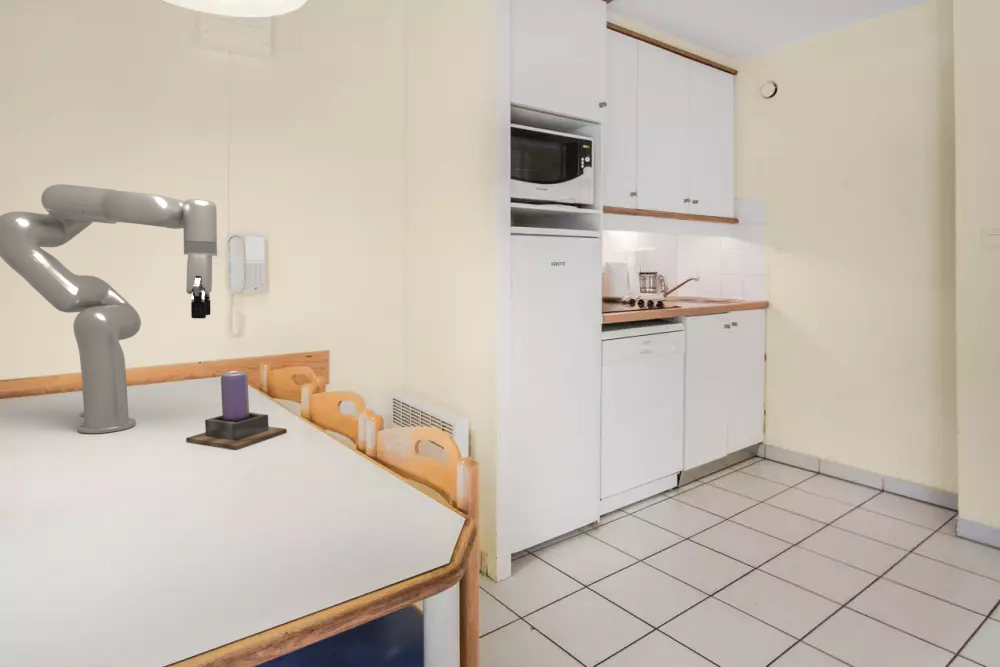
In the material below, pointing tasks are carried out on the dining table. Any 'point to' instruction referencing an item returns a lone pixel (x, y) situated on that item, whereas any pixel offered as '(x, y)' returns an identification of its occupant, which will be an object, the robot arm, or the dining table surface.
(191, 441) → the can holder
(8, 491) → the dining table surface
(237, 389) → the beverage can
